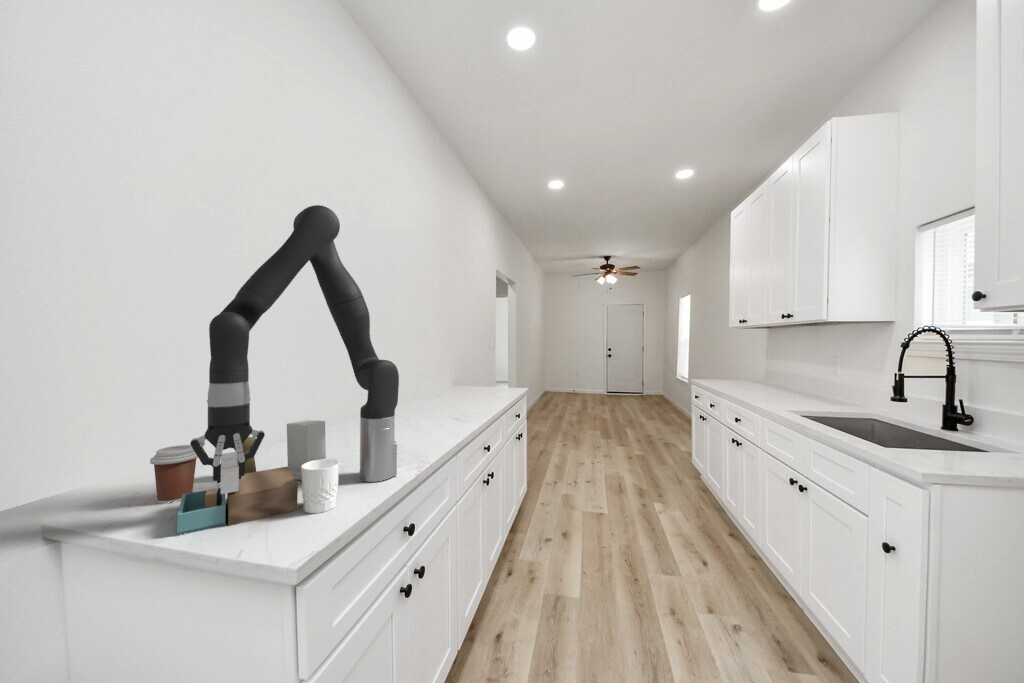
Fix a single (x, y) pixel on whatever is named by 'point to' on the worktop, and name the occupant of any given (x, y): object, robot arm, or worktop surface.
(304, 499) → the white cup
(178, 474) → the coffee cup
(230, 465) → the steel bar
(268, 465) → the worktop surface
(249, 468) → the olive pepper mill
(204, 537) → the worktop surface
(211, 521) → the teal box
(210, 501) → the terracotta tile
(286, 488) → the brown wooden box
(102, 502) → the worktop surface
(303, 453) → the skincare box
